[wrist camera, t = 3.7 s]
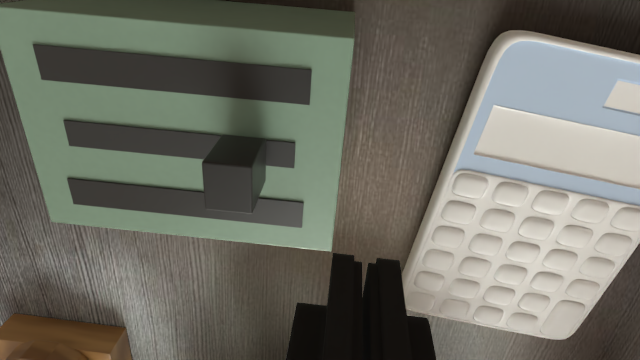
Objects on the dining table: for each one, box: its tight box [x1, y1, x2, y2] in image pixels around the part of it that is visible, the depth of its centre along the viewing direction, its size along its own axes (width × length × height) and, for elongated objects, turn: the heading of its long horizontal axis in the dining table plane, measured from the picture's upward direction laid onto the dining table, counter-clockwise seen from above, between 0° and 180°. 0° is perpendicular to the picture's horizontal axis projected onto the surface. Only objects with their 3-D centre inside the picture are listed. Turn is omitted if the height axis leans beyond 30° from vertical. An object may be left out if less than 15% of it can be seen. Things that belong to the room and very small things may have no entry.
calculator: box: [402, 30, 640, 340], centre depth 26 cm, size 13×20×2 cm, turn 169°
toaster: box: [0, 0, 355, 251], centre depth 21 cm, size 14×10×8 cm
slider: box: [202, 134, 266, 214], centre depth 16 cm, size 2×2×3 cm
